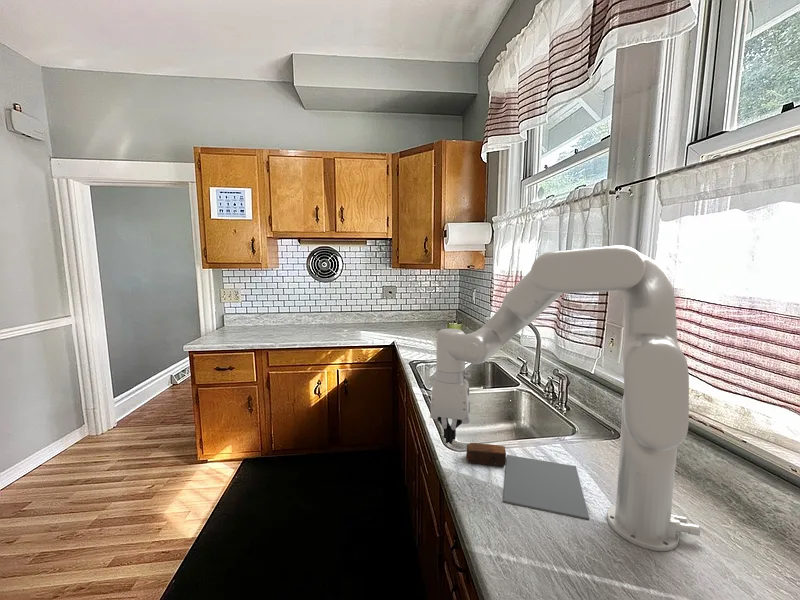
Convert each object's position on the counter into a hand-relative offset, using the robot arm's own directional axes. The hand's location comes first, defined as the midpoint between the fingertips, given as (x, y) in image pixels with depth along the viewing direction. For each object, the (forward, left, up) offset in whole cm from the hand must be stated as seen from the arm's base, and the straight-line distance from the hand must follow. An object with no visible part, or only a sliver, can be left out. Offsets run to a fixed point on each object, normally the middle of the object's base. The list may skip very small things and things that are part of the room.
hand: (449, 441), depth 97 cm
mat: (-24, -1, -8) cm, 25 cm away
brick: (-8, -2, -4) cm, 9 cm away
